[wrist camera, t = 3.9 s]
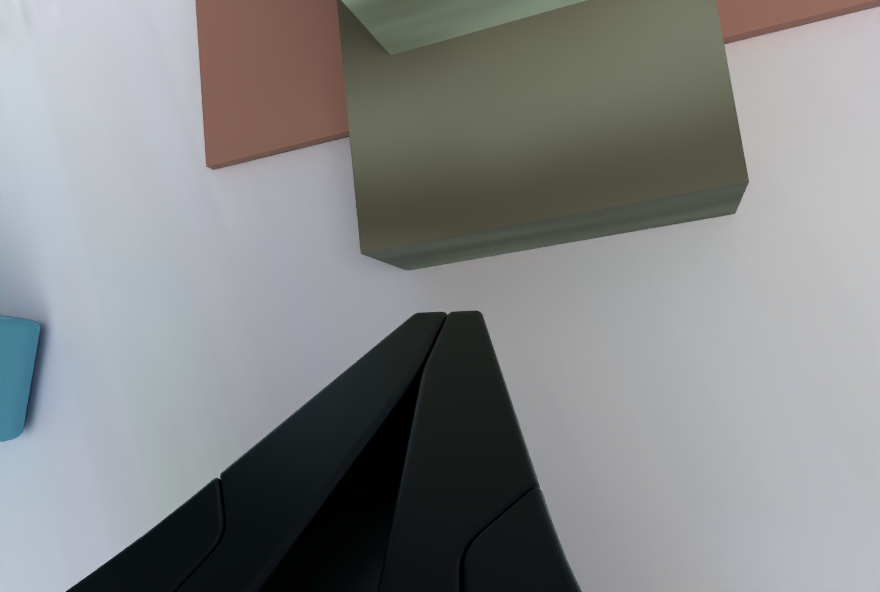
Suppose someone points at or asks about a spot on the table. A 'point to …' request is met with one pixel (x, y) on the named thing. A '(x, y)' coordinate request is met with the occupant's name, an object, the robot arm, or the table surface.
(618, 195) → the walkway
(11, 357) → the data package
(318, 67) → the reddish brown flat panel
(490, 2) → the pale green block
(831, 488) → the table surface
